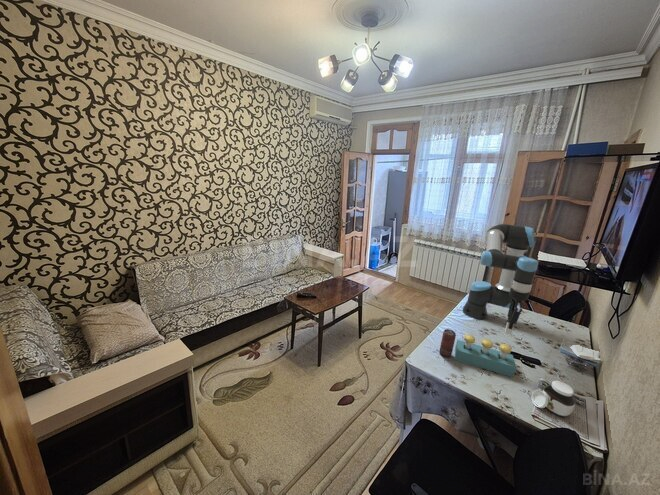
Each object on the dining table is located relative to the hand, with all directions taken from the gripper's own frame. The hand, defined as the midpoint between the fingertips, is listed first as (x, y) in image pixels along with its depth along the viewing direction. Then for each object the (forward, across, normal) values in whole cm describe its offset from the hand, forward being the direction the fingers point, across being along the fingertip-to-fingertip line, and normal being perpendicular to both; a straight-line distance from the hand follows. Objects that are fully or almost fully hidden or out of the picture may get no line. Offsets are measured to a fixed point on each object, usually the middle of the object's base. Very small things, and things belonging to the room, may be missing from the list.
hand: (507, 333), depth 133 cm
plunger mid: (+14, +2, -8) cm, 16 cm away
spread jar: (+19, +21, +16) cm, 33 cm away
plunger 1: (+14, +2, -16) cm, 21 cm away
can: (+19, +5, -26) cm, 33 cm away
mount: (+19, +2, -8) cm, 20 cm away
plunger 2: (+14, +2, 0) cm, 14 cm away
